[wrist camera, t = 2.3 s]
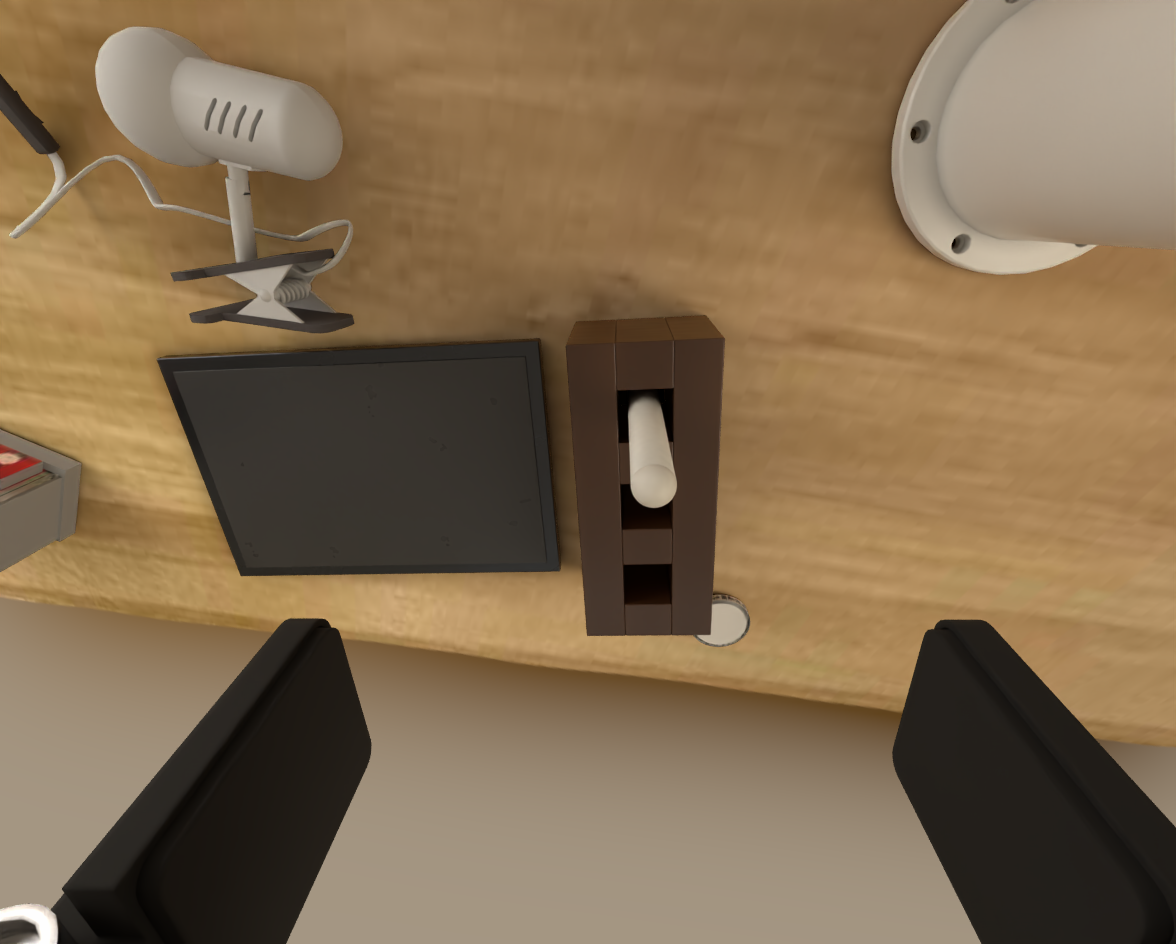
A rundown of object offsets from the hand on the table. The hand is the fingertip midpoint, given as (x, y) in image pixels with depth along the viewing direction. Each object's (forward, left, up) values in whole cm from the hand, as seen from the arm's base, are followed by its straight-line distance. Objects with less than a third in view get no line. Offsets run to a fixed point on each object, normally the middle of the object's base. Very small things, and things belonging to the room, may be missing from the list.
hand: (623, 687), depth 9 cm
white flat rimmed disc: (-6, +18, -24) cm, 31 cm away
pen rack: (-1, +6, -24) cm, 25 cm away
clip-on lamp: (+21, -10, -24) cm, 33 cm away
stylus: (-1, +2, -24) cm, 24 cm away
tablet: (+15, +6, -24) cm, 29 cm away
